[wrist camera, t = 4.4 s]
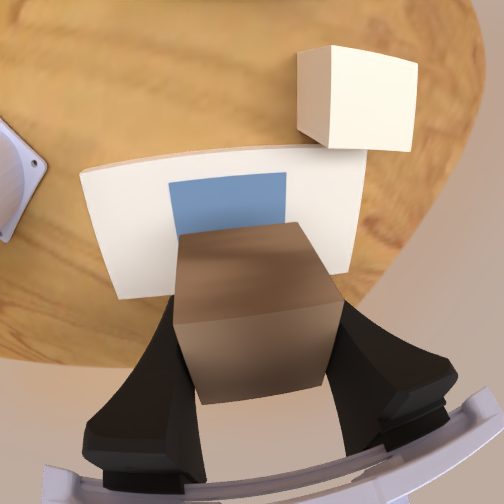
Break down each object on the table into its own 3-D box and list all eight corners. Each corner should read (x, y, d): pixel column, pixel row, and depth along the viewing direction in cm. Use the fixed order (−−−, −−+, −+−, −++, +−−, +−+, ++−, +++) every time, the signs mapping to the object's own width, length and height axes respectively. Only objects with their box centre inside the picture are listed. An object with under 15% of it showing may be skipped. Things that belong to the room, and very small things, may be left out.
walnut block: (196, 319, 15) (201, 404, 11) (179, 234, 12) (172, 324, 8) (292, 306, 15) (321, 385, 11) (297, 221, 12) (344, 300, 8)
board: (121, 291, 21) (118, 300, 20) (84, 168, 16) (78, 174, 15) (343, 264, 23) (348, 272, 23) (360, 144, 18) (368, 149, 17)
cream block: (296, 129, 17) (328, 148, 13) (296, 52, 14) (331, 45, 10) (366, 131, 17) (410, 151, 13) (369, 61, 15) (417, 63, 11)
